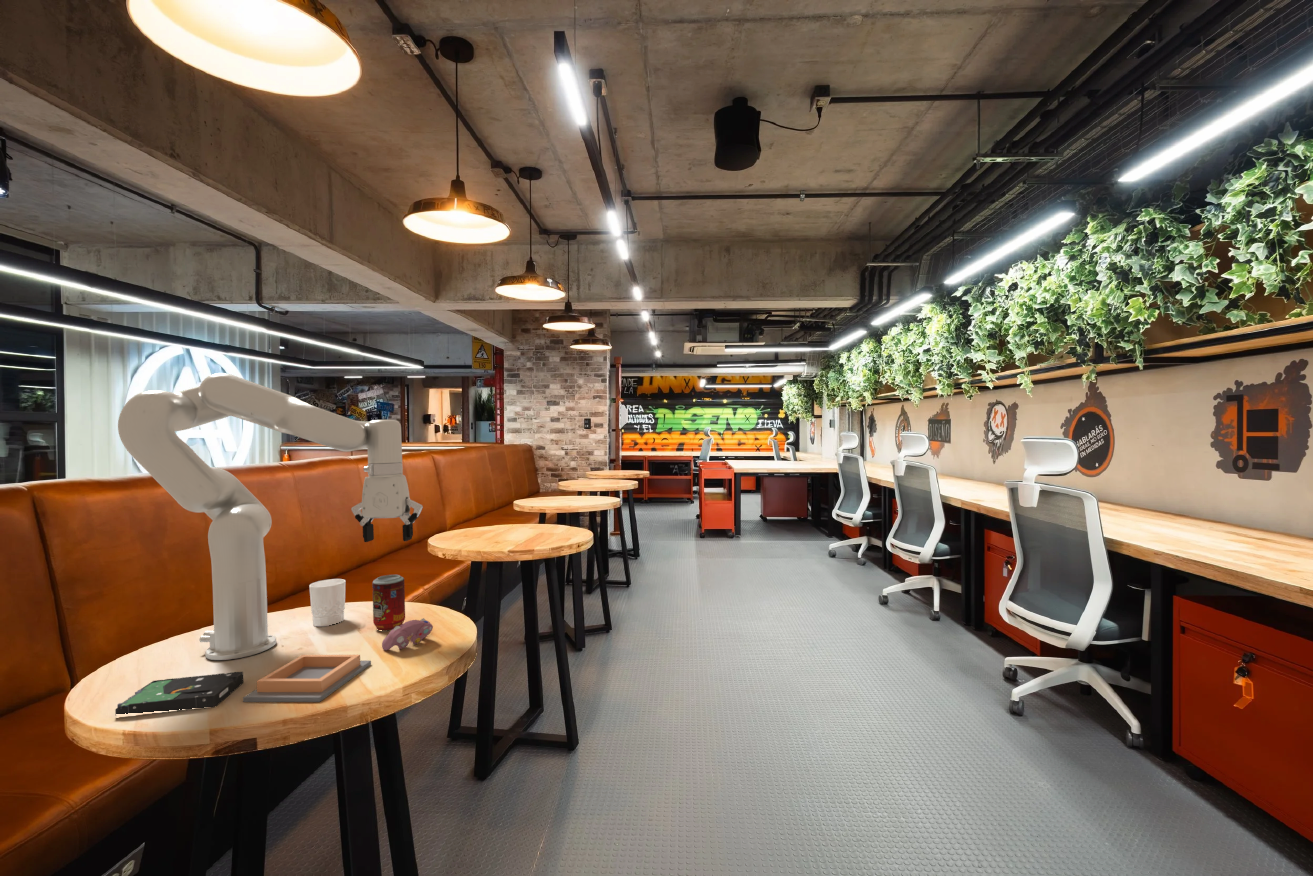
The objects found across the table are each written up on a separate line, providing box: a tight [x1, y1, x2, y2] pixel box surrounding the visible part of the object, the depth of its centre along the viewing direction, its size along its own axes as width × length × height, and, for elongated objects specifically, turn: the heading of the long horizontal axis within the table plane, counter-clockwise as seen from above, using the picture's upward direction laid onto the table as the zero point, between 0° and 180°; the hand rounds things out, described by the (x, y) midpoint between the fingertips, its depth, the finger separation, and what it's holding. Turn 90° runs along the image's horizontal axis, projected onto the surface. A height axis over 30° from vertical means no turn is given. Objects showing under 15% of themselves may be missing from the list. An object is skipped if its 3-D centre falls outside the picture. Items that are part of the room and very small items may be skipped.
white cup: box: [308, 578, 346, 628], centre depth 142 cm, size 8×8×10 cm
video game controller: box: [381, 618, 434, 651], centre depth 124 cm, size 10×5×7 cm, turn 143°
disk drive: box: [114, 671, 244, 715], centre depth 101 cm, size 10×3×15 cm
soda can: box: [371, 574, 406, 632], centre depth 137 cm, size 7×7×12 cm
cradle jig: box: [242, 654, 372, 703], centre depth 107 cm, size 14×16×3 cm
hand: (388, 540), depth 137 cm, fingers open, 9 cm apart
